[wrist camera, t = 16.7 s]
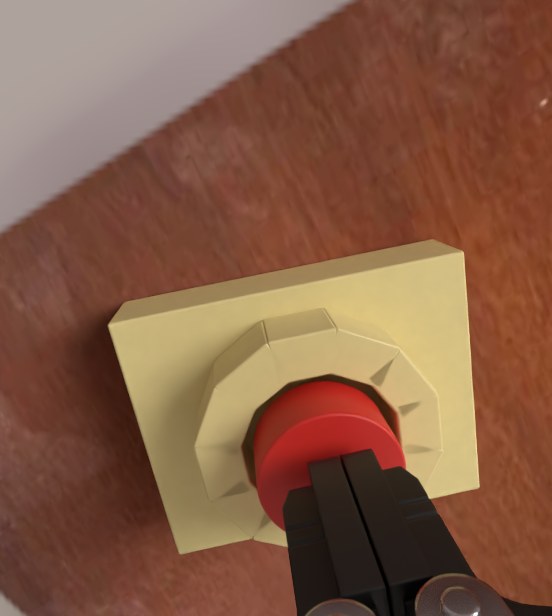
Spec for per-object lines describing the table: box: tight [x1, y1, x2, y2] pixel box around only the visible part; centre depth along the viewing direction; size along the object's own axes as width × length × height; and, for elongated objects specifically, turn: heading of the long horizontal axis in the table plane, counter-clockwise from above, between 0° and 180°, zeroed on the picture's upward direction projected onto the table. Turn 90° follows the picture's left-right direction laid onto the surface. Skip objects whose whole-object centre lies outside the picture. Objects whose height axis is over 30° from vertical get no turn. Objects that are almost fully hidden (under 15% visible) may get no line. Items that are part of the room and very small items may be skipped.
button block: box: [108, 239, 479, 554], centre depth 15 cm, size 10×8×4 cm
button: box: [253, 381, 406, 532], centre depth 12 cm, size 4×4×2 cm
